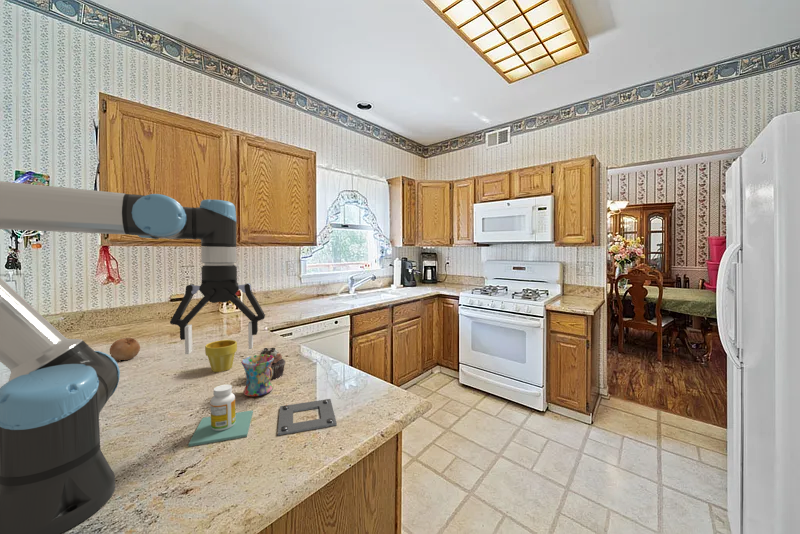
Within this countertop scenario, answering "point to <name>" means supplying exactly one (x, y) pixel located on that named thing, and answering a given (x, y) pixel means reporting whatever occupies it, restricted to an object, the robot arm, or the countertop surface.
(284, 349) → the countertop surface
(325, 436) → the countertop surface
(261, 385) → the mug
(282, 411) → the flange plate
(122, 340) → the brown oval lump
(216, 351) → the plant pot
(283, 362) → the cupcake
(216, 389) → the supplement bottle
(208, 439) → the mat
